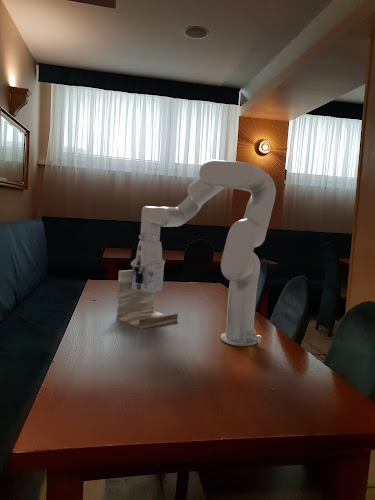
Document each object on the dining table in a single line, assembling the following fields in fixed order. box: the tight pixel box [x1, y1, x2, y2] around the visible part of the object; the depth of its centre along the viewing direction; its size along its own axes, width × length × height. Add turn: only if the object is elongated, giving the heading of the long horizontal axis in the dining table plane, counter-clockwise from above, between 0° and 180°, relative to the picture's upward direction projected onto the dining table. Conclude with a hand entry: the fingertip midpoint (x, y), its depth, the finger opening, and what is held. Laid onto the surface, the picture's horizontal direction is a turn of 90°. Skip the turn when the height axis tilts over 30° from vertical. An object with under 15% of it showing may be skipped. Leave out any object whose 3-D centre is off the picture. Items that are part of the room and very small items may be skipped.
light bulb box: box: [132, 263, 165, 294], centre depth 151 cm, size 11×7×11 cm, turn 62°
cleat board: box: [116, 269, 179, 330], centre depth 151 cm, size 16×18×19 cm
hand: (147, 282), depth 152 cm, fingers closed on light bulb box, 8 cm apart
